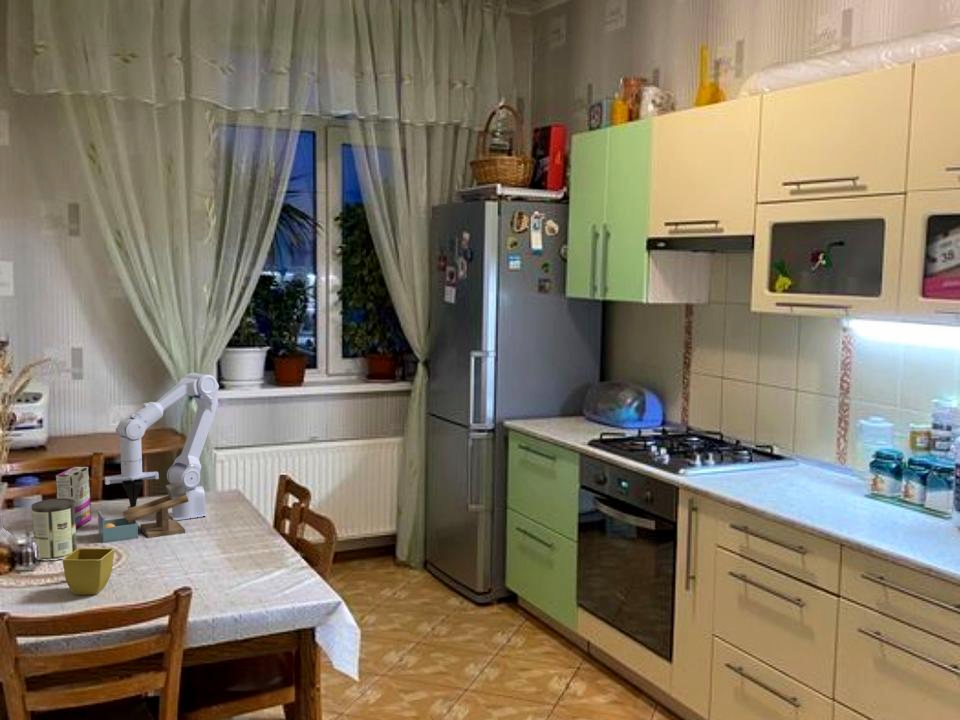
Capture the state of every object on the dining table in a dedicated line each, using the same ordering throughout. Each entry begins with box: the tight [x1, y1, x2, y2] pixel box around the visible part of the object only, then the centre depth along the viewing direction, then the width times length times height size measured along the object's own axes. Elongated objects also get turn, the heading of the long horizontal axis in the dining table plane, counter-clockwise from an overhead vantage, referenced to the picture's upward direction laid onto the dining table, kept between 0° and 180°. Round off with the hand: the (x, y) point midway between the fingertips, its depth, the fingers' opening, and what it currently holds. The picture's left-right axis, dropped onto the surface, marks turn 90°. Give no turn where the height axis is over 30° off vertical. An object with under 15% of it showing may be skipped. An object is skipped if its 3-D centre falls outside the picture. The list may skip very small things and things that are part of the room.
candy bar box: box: [55, 466, 92, 530], centre depth 261 cm, size 11×5×16 cm, turn 179°
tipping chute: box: [122, 481, 188, 523], centre depth 257 cm, size 17×12×5 cm
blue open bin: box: [97, 510, 139, 544], centre depth 250 cm, size 9×9×7 cm
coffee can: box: [31, 498, 78, 560], centre depth 233 cm, size 10×10×14 cm
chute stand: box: [139, 507, 186, 539], centre depth 256 cm, size 10×12×8 cm
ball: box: [105, 523, 115, 528], centre depth 249 cm, size 4×4×4 cm
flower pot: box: [62, 547, 115, 596], centre depth 206 cm, size 9×9×9 cm
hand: (133, 505), depth 259 cm, fingers closed
